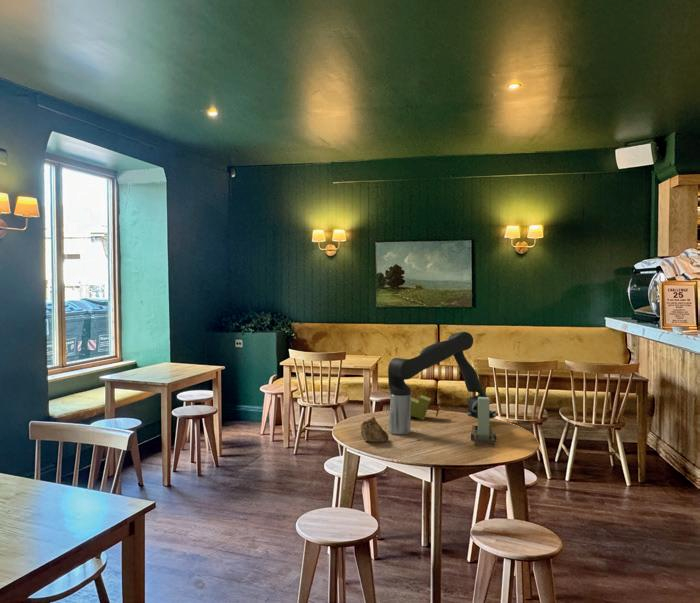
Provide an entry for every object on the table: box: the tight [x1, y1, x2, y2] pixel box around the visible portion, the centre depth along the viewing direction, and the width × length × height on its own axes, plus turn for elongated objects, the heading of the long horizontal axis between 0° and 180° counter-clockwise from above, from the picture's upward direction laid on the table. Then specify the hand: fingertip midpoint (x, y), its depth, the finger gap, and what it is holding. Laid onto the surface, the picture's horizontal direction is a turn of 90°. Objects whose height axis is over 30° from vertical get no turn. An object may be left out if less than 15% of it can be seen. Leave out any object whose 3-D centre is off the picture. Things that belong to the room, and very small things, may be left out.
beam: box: [470, 425, 497, 448], centre depth 218 cm, size 24×10×3 cm, turn 169°
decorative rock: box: [360, 416, 390, 443], centre depth 213 cm, size 12×6×11 cm, turn 105°
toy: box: [411, 394, 441, 421], centre depth 256 cm, size 9×12×20 cm
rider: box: [477, 396, 490, 440], centre depth 216 cm, size 6×5×17 cm
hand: (483, 417), depth 218 cm, fingers closed
